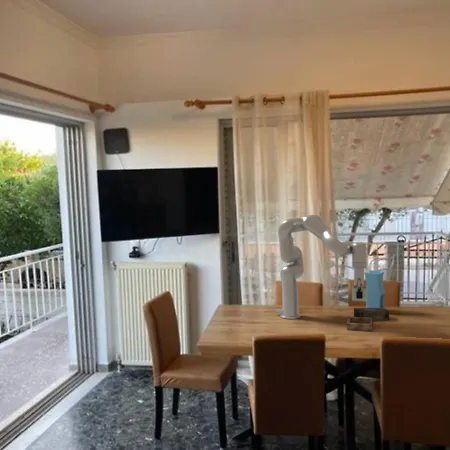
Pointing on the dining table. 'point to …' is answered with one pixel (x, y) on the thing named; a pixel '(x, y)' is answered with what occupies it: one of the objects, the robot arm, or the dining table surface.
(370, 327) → the walnut crate
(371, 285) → the vase
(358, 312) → the beverage carton
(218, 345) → the dining table surface
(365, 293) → the small crate
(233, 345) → the dining table surface
